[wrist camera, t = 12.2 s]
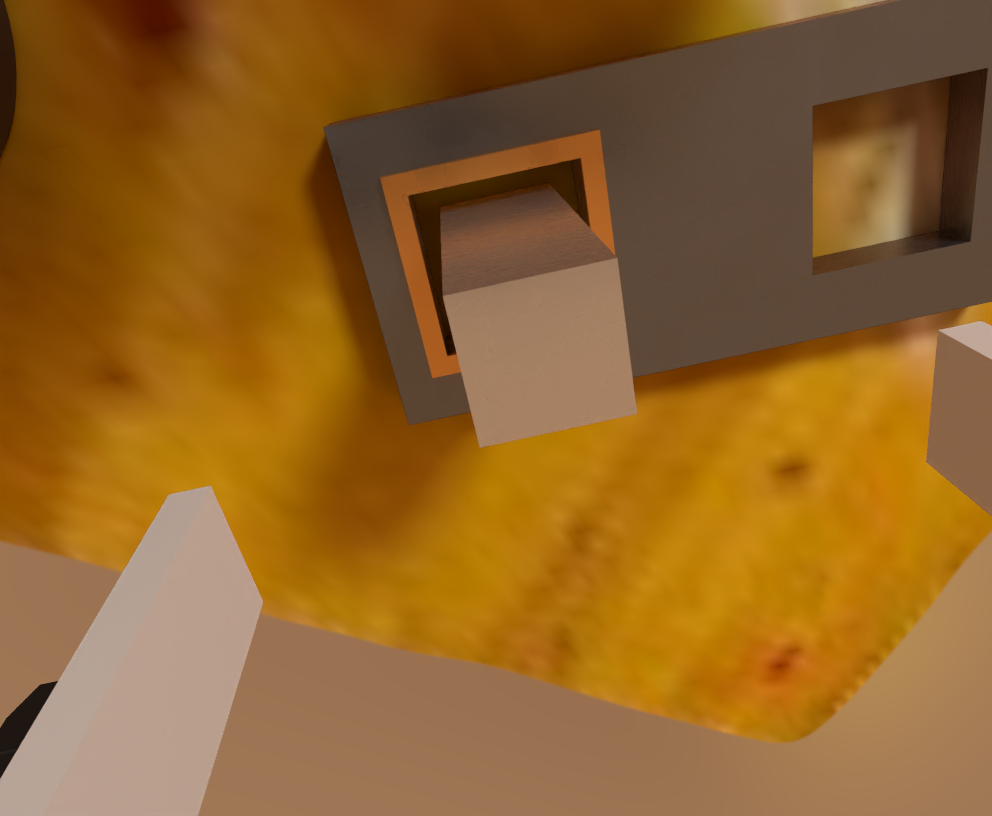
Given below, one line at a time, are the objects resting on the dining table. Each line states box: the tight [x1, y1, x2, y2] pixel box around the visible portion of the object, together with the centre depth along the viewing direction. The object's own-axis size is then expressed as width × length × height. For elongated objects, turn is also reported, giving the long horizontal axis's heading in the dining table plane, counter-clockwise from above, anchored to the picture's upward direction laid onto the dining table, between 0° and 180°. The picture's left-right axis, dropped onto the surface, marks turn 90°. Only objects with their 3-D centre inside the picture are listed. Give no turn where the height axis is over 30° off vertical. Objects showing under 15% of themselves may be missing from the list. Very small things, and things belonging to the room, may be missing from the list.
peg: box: [440, 183, 637, 448], centre depth 24 cm, size 4×4×12 cm
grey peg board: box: [324, 0, 992, 425], centre depth 28 cm, size 26×12×2 cm, turn 101°
